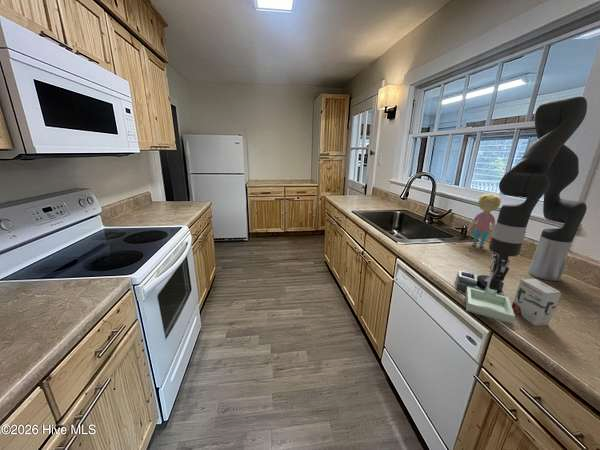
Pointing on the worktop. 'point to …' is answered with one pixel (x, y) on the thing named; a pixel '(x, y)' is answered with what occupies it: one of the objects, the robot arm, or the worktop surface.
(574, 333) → the worktop surface
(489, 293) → the pin
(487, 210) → the toy
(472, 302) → the tray
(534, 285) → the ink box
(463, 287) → the tensioner block
